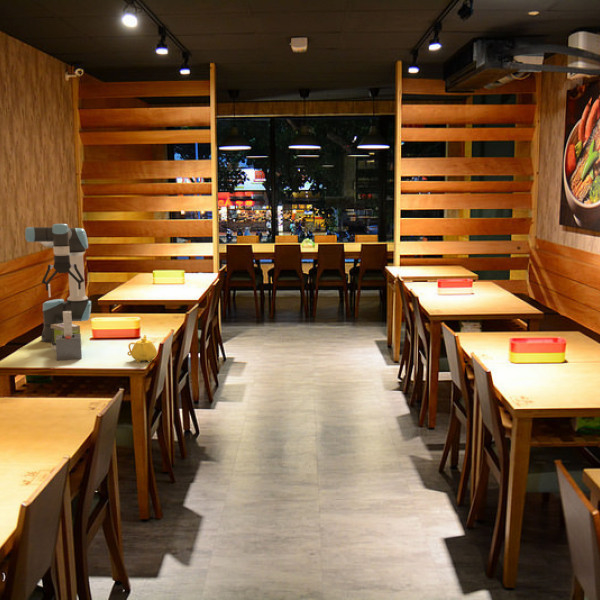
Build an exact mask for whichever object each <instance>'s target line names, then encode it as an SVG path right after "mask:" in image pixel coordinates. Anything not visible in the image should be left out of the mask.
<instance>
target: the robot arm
mask: <svg viewBox="0 0 600 600" xmlns="http://www.w3.org/2000/svg"><path fill="white" fill-rule="evenodd" d="M24 235H25V236H24V237H25V241H26V242H28V243H39V244H41V245H43V246H44V247H47V248H51V249H53V262H54V263H53V264H48V265H47V270H46V272H45V274H44V276H43V278H42V281H41V284H44V285H45V290H46V292H48V298H51V297H52V295H51V283H50V282H51V281H52V280H53V278H55V276H56V275H57V274H67V275H68V285H69V286H68V289H69V296H68V297H67V298H66V300H67V301H65V300H64V299H63V298H58V299H57V298H56V299H51V300H47V301H45V302H43V303H42V318H43V329H42V333H41V337H40V339H41V342H43V343H51V324H58V323H63V311H71V316H72V322H85V321H89V319H90V318H91V312H92V300H89V297H88V296H87V295H86V285H85V283H86V281H85V266H84V264H85V263H84V254H85V253H86V251H87V249H89V241H88V237H87V236H88V235H87V233H86V231H85V229H84V228H82V227H81V228H80V227H69V225H68V224H67V223H54V224H52V226H34V227H33V226H31V227H29V226H28V227H26V228H25V230H24ZM52 269H54V270H55V271H54V272H53V273H52V274H51V275H50V277H49V276H48V275H49V273H50V271H51V270H52ZM48 277H49V278H48ZM47 278H48V279H47Z"/></svg>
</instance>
